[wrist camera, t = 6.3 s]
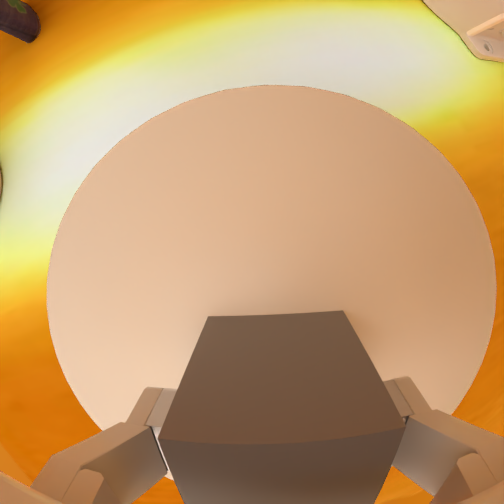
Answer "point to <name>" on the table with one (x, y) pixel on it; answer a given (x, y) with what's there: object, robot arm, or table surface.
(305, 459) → the lid
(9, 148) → the table surface
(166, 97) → the table surface
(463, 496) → the robot arm
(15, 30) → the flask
